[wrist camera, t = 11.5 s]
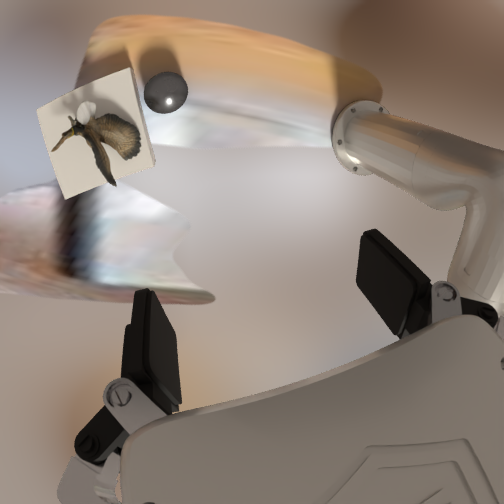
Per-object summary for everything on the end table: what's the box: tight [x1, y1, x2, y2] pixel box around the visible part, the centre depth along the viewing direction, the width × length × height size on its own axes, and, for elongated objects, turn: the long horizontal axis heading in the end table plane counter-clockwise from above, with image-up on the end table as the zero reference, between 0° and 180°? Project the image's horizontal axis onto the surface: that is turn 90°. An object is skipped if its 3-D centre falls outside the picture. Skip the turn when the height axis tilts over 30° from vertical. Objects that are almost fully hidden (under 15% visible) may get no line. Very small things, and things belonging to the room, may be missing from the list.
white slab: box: [36, 67, 156, 199], centre depth 27 cm, size 13×13×3 cm
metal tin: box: [144, 72, 188, 114], centre depth 27 cm, size 5×5×4 cm
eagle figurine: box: [51, 101, 141, 186], centre depth 24 cm, size 8×7×9 cm
